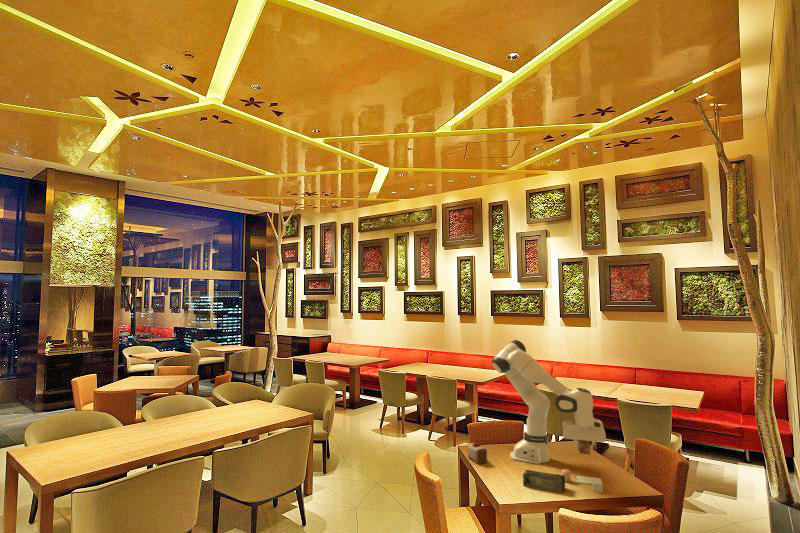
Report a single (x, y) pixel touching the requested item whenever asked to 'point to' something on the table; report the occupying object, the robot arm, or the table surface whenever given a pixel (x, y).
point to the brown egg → (566, 475)
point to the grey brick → (597, 484)
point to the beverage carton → (544, 481)
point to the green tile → (584, 480)
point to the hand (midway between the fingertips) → (584, 449)
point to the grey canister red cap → (477, 453)
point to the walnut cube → (584, 447)
